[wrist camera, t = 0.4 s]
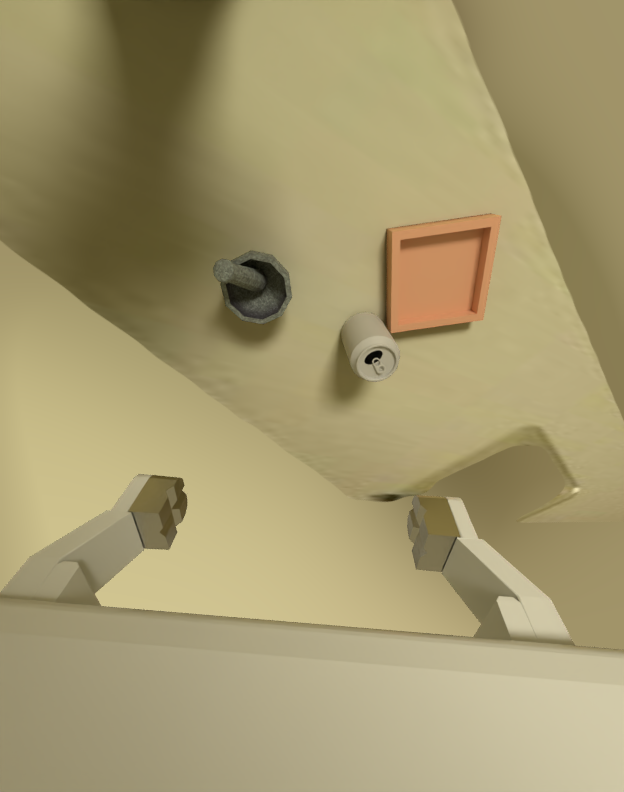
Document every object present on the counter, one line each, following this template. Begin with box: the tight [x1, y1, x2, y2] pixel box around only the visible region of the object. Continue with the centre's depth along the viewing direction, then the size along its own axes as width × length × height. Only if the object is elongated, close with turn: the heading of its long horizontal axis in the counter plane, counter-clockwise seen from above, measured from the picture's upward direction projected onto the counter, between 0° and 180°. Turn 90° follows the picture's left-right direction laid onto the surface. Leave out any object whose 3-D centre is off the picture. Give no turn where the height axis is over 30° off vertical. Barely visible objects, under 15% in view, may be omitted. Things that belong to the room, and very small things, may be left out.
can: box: [341, 312, 400, 382], centre depth 54 cm, size 8×8×12 cm
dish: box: [386, 214, 501, 333], centre depth 53 cm, size 15×15×3 cm
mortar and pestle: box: [213, 251, 292, 324], centre depth 47 cm, size 11×9×12 cm
